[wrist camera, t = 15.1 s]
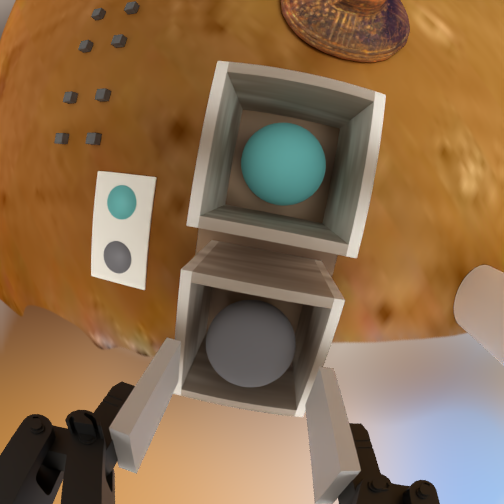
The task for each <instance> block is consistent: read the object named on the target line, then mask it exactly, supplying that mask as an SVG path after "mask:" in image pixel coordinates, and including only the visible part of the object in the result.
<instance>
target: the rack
mask: <svg viewBox="0 0 504 504" xmlns="http://www.w3.org/2000/svg"><path fill="white" fill-rule="evenodd" d="M385 99H386V95H384V94H381V93H378V92H375V91H372V90H369V89H366V88H363V87H359V86H356V85H352V84H349V83H345V82H342V81H338V80H334V79H330V78H326V77H321V76H317V75H313V74H308V73H303V72H298V71H293V70H287V69H281V68H275V67H269V66H262V65H254V64H246V63H236V62H225V61H217V66H216V70H215V74H214V78H213V82H212V87H211V91H210V96H209V100H208V105H207V109H206V114H205V119H204V124H203V129H202V134H201V139H200V145H199V150H198V156H197V161H196V167H195V173H194V179H193V185H192V191H191V198H190V204H189V211H188V218H187V225H186V226H190V227H196V228H199V231H198V238H197V245H196V253H195V256H194V257H193V258H192V259H191V260H190V261H189V262H188V263H187V264H186V265H185V266H184V267H183V268H182V269H181V275H180V284H179V294H178V305H177V317H176V330H175V340H178V341H181V349H180V364H179V380H178V384H177V386H176V388H175V390H174V392H173V394H177V395H181V396H185V397H188V398H193V399H197V400H201V401H205V402H210V403H214V404H219V405H224V406H229V407H234V408H239V409H245V410H251V411H257V412H264V413H271V414H278V415H287V416H295V417H303V416H304V414H305V411H306V408H305V404H306V401H307V399H308V396H309V394H310V391H311V389H312V386H313V383H314V381H315V378H316V375H317V373H318V370H319V367H323V365H324V363H325V360H326V357H327V354H328V352H329V349H330V346H331V343H332V340H333V337H334V334H335V331H336V328H337V325H338V322H339V319H340V315H341V312H342V309H343V306H344V302H345V299H344V297H343V296H342V294H341V292H340V291H339V289H338V287H337V286H336V284H335V282H334V281H333V279H332V275H333V271H334V267H335V263H336V259H337V255H342V256H347V257H352V258H357V256H358V252H359V248H360V244H361V239H362V235H363V231H364V227H365V222H366V218H367V213H368V208H369V203H370V199H371V193H372V188H373V183H374V177H375V172H376V166H377V160H378V154H379V147H380V140H381V133H382V125H383V117H384V108H385ZM274 123H292V124H296V125H298V126H301V127H303V128H305V129H306V130H308V131H309V132H310V133H312V134H313V135H314V136H315V138H316V139H317V140H318V141H319V143H320V145H321V147H322V149H323V151H324V155H325V160H326V169H325V175H324V178H323V181H322V183H321V185H320V187H319V188H318V189H317V191H316V192H315V193H314V194H313V195H312V196H310V197H309V198H308V199H306V200H304V201H302V202H300V203H297V204H294V205H286V206H281V205H275V204H271V203H268V202H266V201H264V200H262V199H260V198H259V197H258V196H256V195H255V194H254V193H253V192H252V191H251V190H250V188H249V187H248V185H247V184H246V182H245V180H244V177H243V174H242V169H241V158H242V153H243V150H244V147H245V145H246V143H247V141H248V140H249V139H250V137H251V136H252V135H253V134H254V133H255V132H257V131H258V130H259V129H261V128H263V127H265V126H267V125H270V124H274ZM242 300H260V301H264V302H267V303H269V304H271V305H273V306H275V307H276V308H278V309H279V310H280V311H281V312H283V313H284V315H285V316H286V317H287V318H288V320H289V321H290V323H291V325H292V327H293V330H294V334H295V340H296V348H295V353H294V357H293V360H292V362H291V364H290V366H289V367H288V369H287V370H286V371H285V373H284V374H283V375H282V376H281V377H279V378H278V379H277V380H275V381H273V382H271V383H269V384H267V385H264V386H260V387H241V386H237V385H234V384H232V383H230V382H228V381H226V380H225V379H224V378H222V377H221V376H220V375H219V374H218V373H217V372H216V371H215V370H214V368H213V366H212V365H211V363H210V361H209V359H208V355H207V352H206V336H207V331H208V328H209V326H210V324H211V322H212V321H213V319H214V318H215V316H216V315H217V314H218V313H219V312H220V311H221V310H222V309H224V308H225V307H226V306H228V305H230V304H232V303H235V302H238V301H242Z"/></svg>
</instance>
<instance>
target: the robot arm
mask: <svg viewBox="0 0 504 504" xmlns="http://www.w3.org/2000/svg"><path fill="white" fill-rule="evenodd" d="M180 349H181V341H178V340H174V339H170V338H166V340H165V341H164V343H163V344H162V346H161V347H160V349H159V350H158V352H157V353H156V355H155V356H154V358H153V360H152V361H151V363H150V364H149V366H148V367H147V369H146V370H145V372H144V373H143V375H142V377H141V378H140V380H139V381H138V383H137V384H136V386H133V385H130V384H127V383H124V382H120V383H118V384H117V385H115V386H113V387H112V388H111V390H110V391H109V392H108V394H107V396H106V397H105V398H104V399H103V402H101V403H100V405H99V406H98V408H97V409H96V410H95V412H94V413H92V412H90V411H87V410H77V411H73V412H71V413H70V414H69V415H68V416H67V418H66V423H67V426H68V429H66V428H62V427H57V426H53V425H52V424H51V422H50V421H49V419H48V418H46V417H45V416H43V415H39V414H32V415H30V416H27V418H25V419H24V420H23V422H22V423H21V425H20V426H19V428H18V429H17V431H16V432H15V434H14V435H13V436H12V438H11V440H10V441H9V443H8V444H7V446H6V447H5V449H4V450H3V452H2V453H1V455H0V504H53V501H54V499H55V497H56V494H57V492H58V489H59V487H60V485H61V483H62V480H63V486H62V497H61V504H115V479H114V477H115V476H114V474H115V473H114V469H113V468H114V466H115V464H116V462H118V465H119V467H120V468H123V469H126V470H128V471H131V472H134V473H137V472H138V469H139V467H140V465H141V462H142V460H143V458H144V456H145V454H146V451H147V449H148V447H149V445H150V443H151V440H152V438H153V436H154V434H155V432H156V429H157V427H158V425H159V423H160V421H161V418H162V416H163V414H164V412H165V410H166V408H167V405H168V403H169V401H170V399H171V397H172V394H173V392H174V390H175V388H176V386H177V384H178V380H179V364H180ZM305 408H306V417H307V426H308V435H309V445H310V454H311V465H312V476H313V488H314V499H315V504H332V503H333V502H334V501H335V500H336V499H337V498H338V500H339V504H440V503H439V499H438V496H437V492H436V489H435V487H434V485H433V484H432V483H430V482H428V481H426V480H419V481H416V482H414V483H413V484H412V485H411V486H404V485H397V484H393V483H391V482H390V480H389V479H388V478H387V477H386V476H384V475H382V474H381V473H380V470H379V467H378V464H377V461H376V457H375V454H374V451H373V448H372V444H371V442H370V438H369V434H368V431H367V430H366V429H365V428H364V427H363V425H362V424H352V423H349V422H348V418H347V414H346V411H345V407H344V403H343V400H342V396H341V392H340V389H339V386H338V382H337V378H336V375H335V371H334V369H333V368H326V367H319V370H318V373H317V375H316V378H315V381H314V383H313V386H312V389H311V391H310V394H309V396H308V399H307V401H306V404H305Z"/></svg>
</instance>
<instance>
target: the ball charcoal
mask: <svg viewBox="0 0 504 504" xmlns="http://www.w3.org/2000/svg"><path fill="white" fill-rule="evenodd" d="M295 348H296V340H295V334H294V330H293V327H292V325H291V323H290V321H289V320H288V318H287V317H286V316H285V315H284V313H283V312H281V311H280V310H279V309H278V308H276V307H275V306H273V305H271V304H269V303H267V302H264V301H260V300H242V301H238V302H235V303H232V304H230V305H228V306H226V307H225V308H224V309H222V310H221V311H220V312H219V313H218V314H217V315H216V316H215V318H214V319H213V321H212V322H211V324H210V326H209V328H208V331H207V336H206V352H207V355H208V359H209V361H210V363H211V365H212V366H213V368H214V370H215V371H216V372H217V373H218V374H219V375H220V376H221V377H222V378H224V379H225V380H226V381H228V382H230V383H232V384H234V385H237V386H241V387H260V386H264V385H267V384H269V383H271V382H273V381H275V380H277V379H278V378H279V377H281V376H282V375H283V374H284V373H285V371H286V370H287V369H288V367H289V366H290V364H291V362H292V360H293V357H294V353H295Z"/></svg>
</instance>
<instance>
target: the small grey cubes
mask: <svg viewBox="0 0 504 504" xmlns="http://www.w3.org/2000/svg"><path fill="white" fill-rule="evenodd" d="M138 8H139V5H138V3H137V2H136V1H135V2H129V3H127V4H126V7H125V9H124V11H125V12H126V13H127V14H134V13H137V11H138ZM105 13H106V11H105V10H104V9H102V8H99V9H94V11H93V13H92V16H91V17H92V18H93V19H95V20H99V19H103V17H104V15H105ZM126 40H127V38H126V37H125V36H124V35H123V34H121V35H114V37H113V39H112V42H111V45H113V46H114V47H115V48H117V47H124V46H125V43H126ZM92 46H93V43H92V42H91V41H89V40H85V41H81V43H80V46H79V49H78V50H80V51H82V52H83V53H84V52H89V51H91V49H92ZM110 94H111V91H110V90H108V89H97V92H96V96H95V100H98V101H109V98H110ZM77 96H78V93H75V92H65V95H64V99H63V102H65V103H68V104H69V103H76V100H77ZM101 135H102V134H99V133H87V138H86V144H91V145H100V141H101ZM68 138H69V134H66V133H56V137H55V143H57V144H67V143H68Z"/></svg>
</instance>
